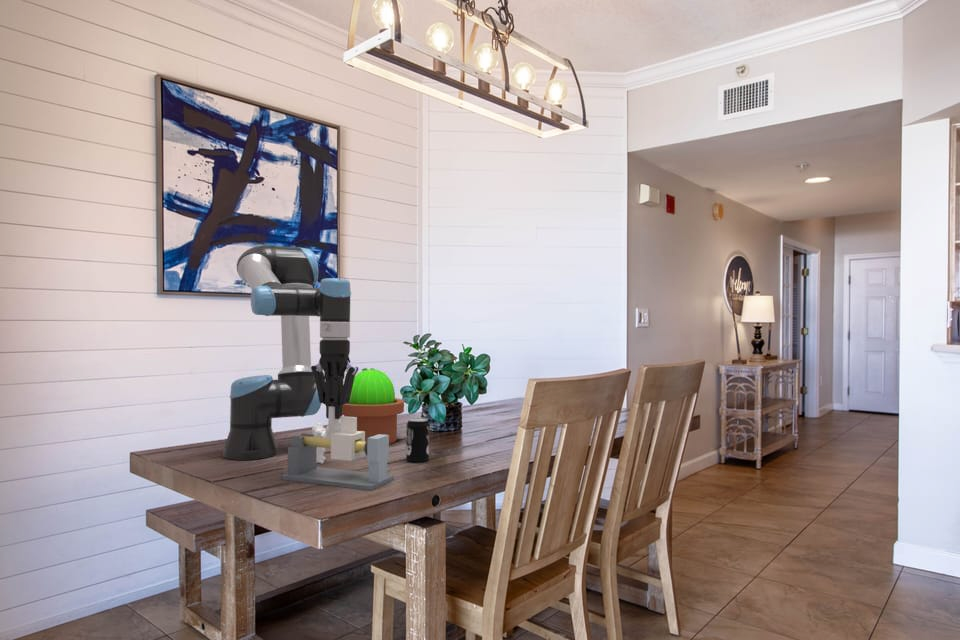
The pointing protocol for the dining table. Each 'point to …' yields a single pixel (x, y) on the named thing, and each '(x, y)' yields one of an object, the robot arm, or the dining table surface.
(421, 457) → the beverage can
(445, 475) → the dining table surface
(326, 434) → the figurine
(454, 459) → the dining table surface
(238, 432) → the robot arm
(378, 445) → the grey rod stand
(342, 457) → the sleeve
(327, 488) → the dining table surface
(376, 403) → the potted cactus
